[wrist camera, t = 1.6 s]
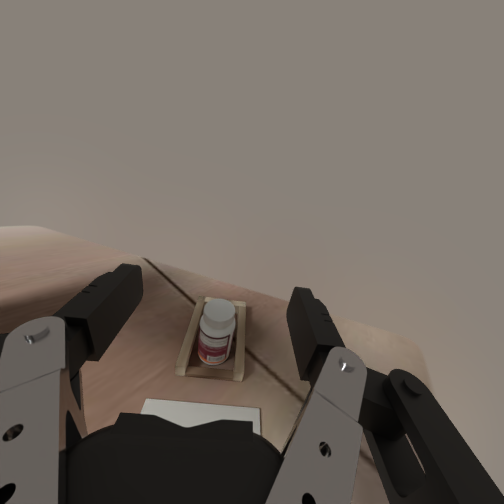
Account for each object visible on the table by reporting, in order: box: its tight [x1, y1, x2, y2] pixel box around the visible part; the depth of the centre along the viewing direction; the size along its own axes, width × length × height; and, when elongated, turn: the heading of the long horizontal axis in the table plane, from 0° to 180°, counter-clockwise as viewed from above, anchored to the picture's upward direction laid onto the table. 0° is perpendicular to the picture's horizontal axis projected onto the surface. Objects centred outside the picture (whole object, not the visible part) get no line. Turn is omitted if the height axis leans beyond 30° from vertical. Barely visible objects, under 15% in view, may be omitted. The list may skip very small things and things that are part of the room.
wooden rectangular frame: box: [175, 296, 246, 382], centre depth 31 cm, size 9×13×2 cm, turn 0°
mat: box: [140, 399, 260, 435], centre depth 19 cm, size 13×10×1 cm
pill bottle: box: [198, 299, 236, 365], centre depth 28 cm, size 5×5×8 cm
